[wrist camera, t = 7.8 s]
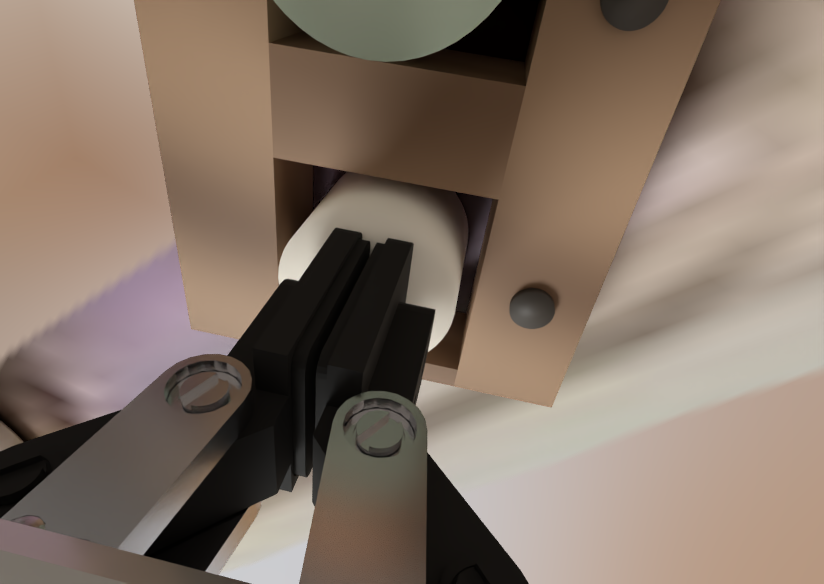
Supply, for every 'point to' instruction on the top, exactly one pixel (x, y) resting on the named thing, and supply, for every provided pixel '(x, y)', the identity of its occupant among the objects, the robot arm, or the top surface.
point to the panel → (421, 158)
